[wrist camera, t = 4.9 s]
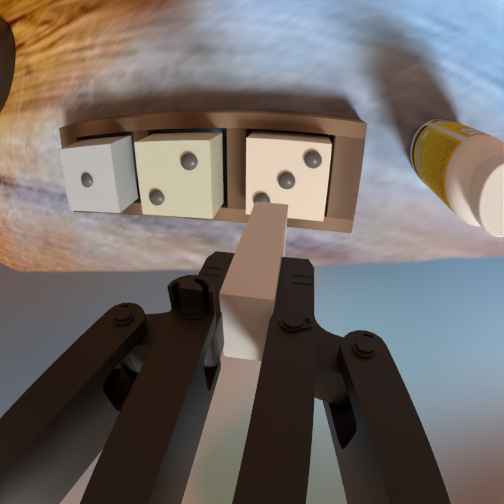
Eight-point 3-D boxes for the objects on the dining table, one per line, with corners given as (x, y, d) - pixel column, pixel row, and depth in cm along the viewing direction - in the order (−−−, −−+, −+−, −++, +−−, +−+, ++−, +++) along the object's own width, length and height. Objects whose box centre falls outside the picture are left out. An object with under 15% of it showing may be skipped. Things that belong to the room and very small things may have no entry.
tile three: (252, 198, 25) (245, 215, 23) (253, 130, 22) (245, 138, 20) (321, 205, 25) (323, 222, 22) (328, 136, 22) (332, 145, 19)
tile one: (89, 197, 27) (69, 211, 24) (80, 140, 23) (57, 150, 21) (138, 198, 26) (118, 213, 23) (131, 135, 23) (108, 144, 20)
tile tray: (87, 202, 30) (73, 211, 28) (75, 122, 25) (59, 128, 23) (347, 220, 26) (351, 233, 24) (360, 119, 21) (366, 123, 19)
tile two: (159, 199, 25) (141, 215, 23) (153, 133, 22) (132, 142, 20) (223, 202, 25) (211, 220, 22) (222, 132, 22) (208, 140, 19)
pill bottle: (427, 198, 24) (482, 267, 14) (395, 139, 22) (451, 182, 12) (477, 165, 21) (549, 218, 11) (449, 105, 19) (528, 129, 10)
